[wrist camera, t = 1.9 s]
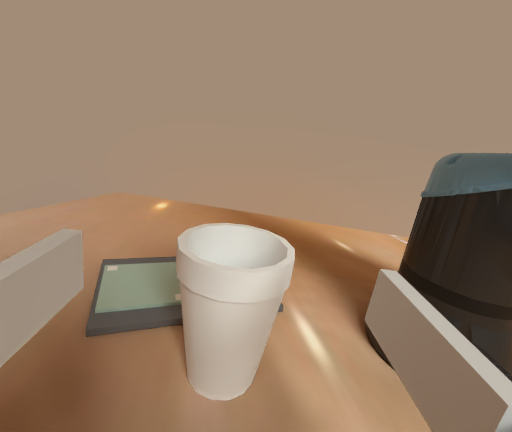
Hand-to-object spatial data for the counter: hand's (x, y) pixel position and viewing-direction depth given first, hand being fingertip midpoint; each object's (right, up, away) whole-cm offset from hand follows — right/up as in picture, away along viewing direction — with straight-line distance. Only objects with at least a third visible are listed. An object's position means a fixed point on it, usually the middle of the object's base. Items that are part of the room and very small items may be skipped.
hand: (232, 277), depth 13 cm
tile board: (-8, -7, +26) cm, 28 cm away
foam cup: (-2, -12, +14) cm, 19 cm away
